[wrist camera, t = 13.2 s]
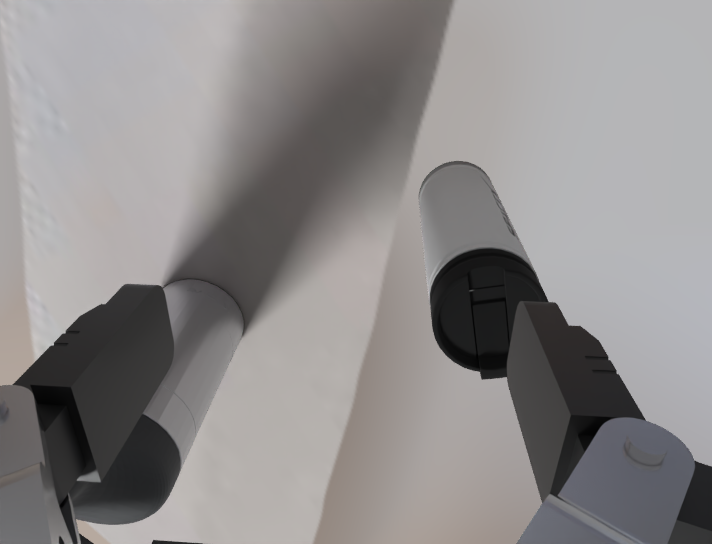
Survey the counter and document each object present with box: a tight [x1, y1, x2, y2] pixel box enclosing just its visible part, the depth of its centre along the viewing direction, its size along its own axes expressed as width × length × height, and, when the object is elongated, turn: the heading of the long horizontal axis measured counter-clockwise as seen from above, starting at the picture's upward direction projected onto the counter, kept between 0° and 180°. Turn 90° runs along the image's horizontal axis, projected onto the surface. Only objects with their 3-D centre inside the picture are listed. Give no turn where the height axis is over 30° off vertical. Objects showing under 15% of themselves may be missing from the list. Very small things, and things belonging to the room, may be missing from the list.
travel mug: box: [419, 161, 548, 379], centre depth 36 cm, size 6×7×20 cm
